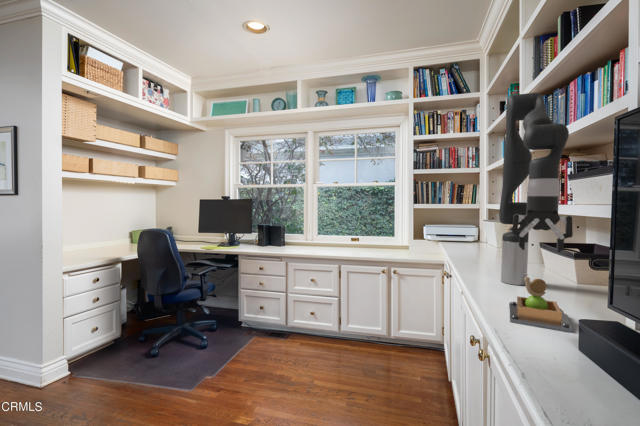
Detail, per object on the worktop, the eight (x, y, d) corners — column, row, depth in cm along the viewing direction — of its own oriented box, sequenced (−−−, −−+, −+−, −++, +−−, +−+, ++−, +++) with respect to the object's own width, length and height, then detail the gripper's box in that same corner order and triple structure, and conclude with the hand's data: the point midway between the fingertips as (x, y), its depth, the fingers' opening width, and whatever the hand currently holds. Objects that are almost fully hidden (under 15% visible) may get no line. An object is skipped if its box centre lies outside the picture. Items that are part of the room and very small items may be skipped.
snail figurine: (517, 310, 97) (519, 271, 97) (539, 310, 97) (540, 271, 97) (529, 316, 92) (530, 275, 91) (551, 317, 92) (553, 275, 91)
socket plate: (509, 305, 105) (509, 293, 104) (562, 313, 98) (563, 300, 98) (510, 321, 91) (510, 308, 91) (572, 332, 84) (573, 317, 84)
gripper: (571, 195, 92) (568, 251, 93) (513, 194, 99) (511, 246, 100) (576, 195, 86) (573, 255, 86) (514, 194, 93) (511, 250, 94)
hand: (540, 250), depth 93 cm, fingers open, 8 cm apart
